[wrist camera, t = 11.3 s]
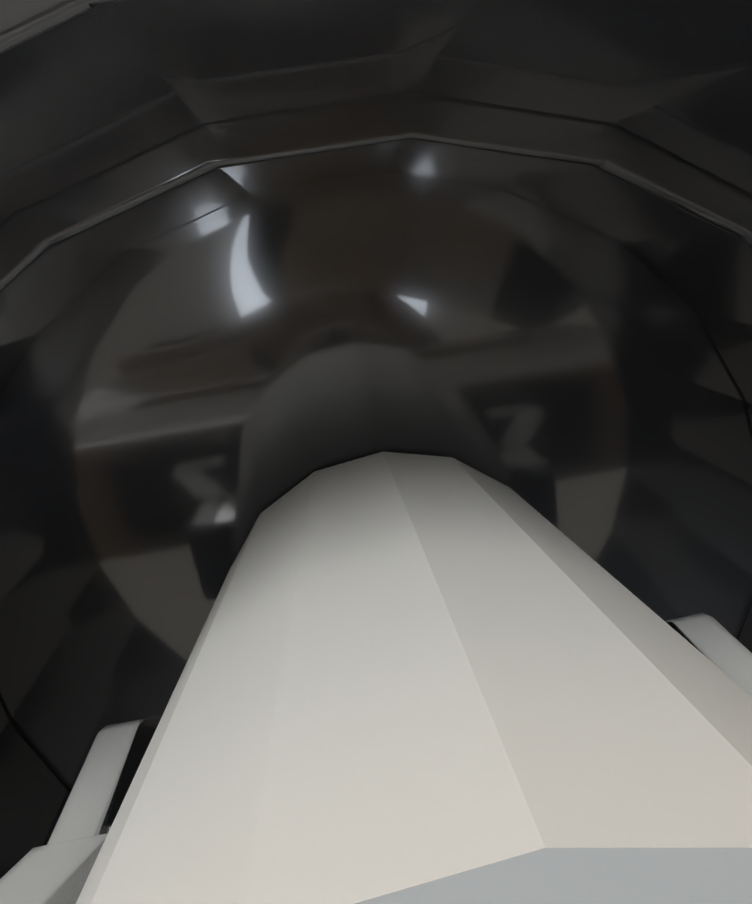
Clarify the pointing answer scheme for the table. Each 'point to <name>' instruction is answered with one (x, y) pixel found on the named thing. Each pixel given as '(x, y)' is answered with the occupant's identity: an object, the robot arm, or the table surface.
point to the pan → (352, 307)
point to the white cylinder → (433, 719)
